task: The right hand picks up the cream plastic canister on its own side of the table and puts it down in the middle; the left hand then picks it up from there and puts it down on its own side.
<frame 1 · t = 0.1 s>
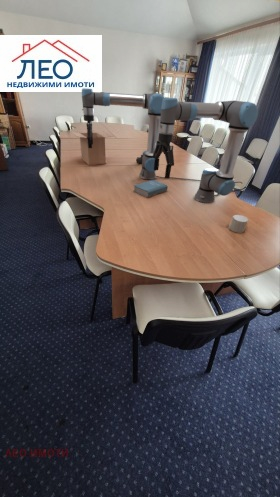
left hand: (90, 146, 173), 28 cm above the table, tool pointing down, fingers open, 13 cm apart
right hand: (161, 173, 128), 28 cm above the table, tool pointing down, fingers open, 13 cm apart
book: (150, 191, 179), on the table
box: (93, 161, 237), on the table
laser sight: (146, 164, 240), on the table
canister: (236, 229, 138), on the table
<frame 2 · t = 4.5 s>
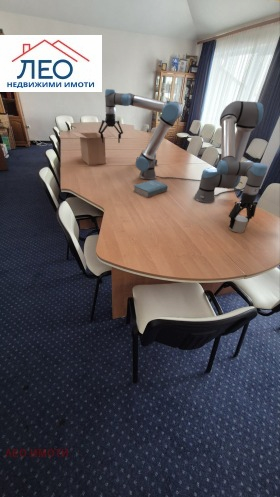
left hand: (110, 142, 186), 28 cm above the table, tool pointing down, fingers open, 13 cm apart
right hand: (237, 227, 137), 1 cm above the table, tool pointing down, fingers closed on canister, 9 cm apart
canister: (236, 229, 138), on the table, touching right hand
everything else where it was.
when the right hand's fingers open (3 cm above the table, at t = 12.5 s): canister drops 2 cm, on the table.
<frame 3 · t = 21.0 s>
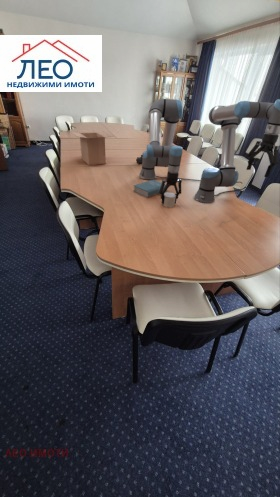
left hand: (168, 203, 160), 1 cm above the table, tool pointing down, fingers closed on canister, 9 cm apart
right hand: (256, 173, 132), 30 cm above the table, tool pointing down, fingers open, 13 cm apart
canister: (168, 204, 161), on the table, touching left hand
everything else where it was.
when the left hand's fingers open (3 cm above the table, at t = 30.2 s): canister drops 2 cm, on the table.
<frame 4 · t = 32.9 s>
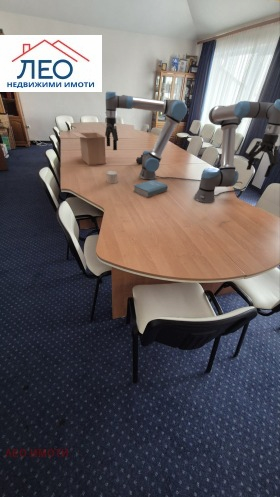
left hand: (111, 148, 175), 27 cm above the table, tool pointing down, fingers open, 13 cm apart
right hand: (256, 173, 132), 30 cm above the table, tool pointing down, fingers open, 13 cm apart
canister: (112, 181, 191), on the table
everything else where it was.
at the end: canister inside the target area (0.0 cm from its centre), on the table; canister tilted 0°; the two hands never held the canister at the same time; the left hand is holding nothing; the right hand is holding nothing; canister at rest at the end (0.0 cm/s) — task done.
